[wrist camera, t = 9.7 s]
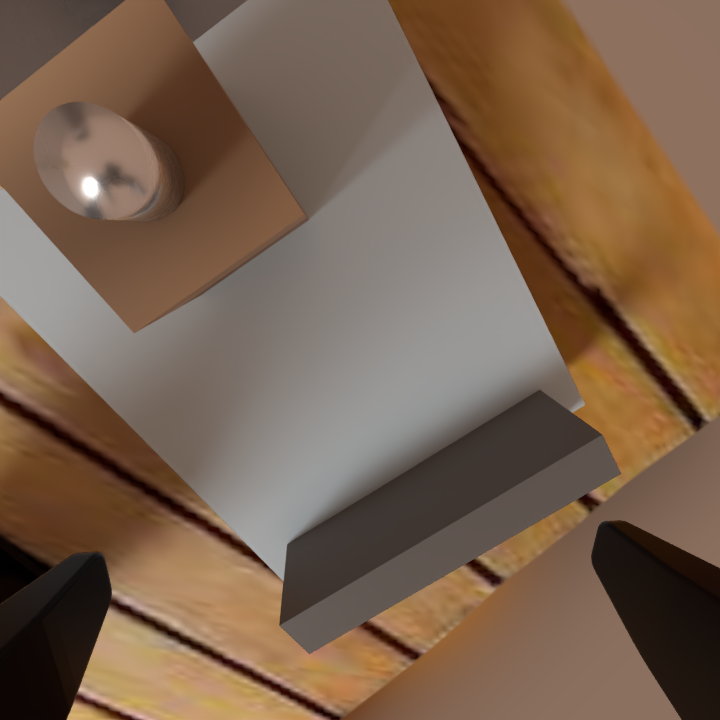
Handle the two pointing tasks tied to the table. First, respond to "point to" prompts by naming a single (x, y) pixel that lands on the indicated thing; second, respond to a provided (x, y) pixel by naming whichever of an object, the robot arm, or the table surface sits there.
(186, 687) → the table surface
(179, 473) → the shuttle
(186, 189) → the housing
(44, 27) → the press frame
